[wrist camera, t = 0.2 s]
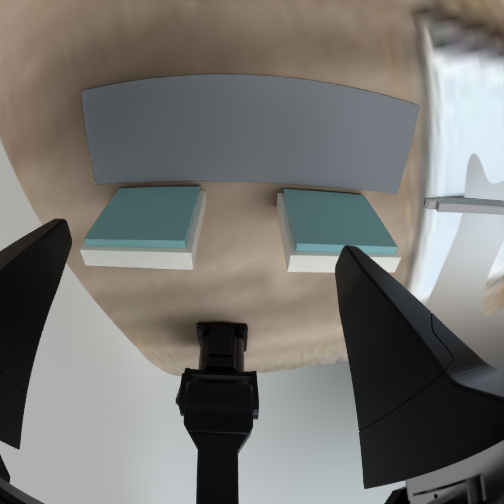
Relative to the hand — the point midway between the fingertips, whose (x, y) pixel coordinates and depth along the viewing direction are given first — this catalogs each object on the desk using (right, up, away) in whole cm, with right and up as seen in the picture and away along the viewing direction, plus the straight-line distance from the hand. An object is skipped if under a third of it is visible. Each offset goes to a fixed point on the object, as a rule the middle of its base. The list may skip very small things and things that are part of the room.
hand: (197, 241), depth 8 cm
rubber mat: (+2, +9, +11) cm, 14 cm away
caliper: (+29, +6, +15) cm, 33 cm away
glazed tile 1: (+8, +4, +15) cm, 18 cm away
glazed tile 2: (-6, +5, +15) cm, 17 cm away
